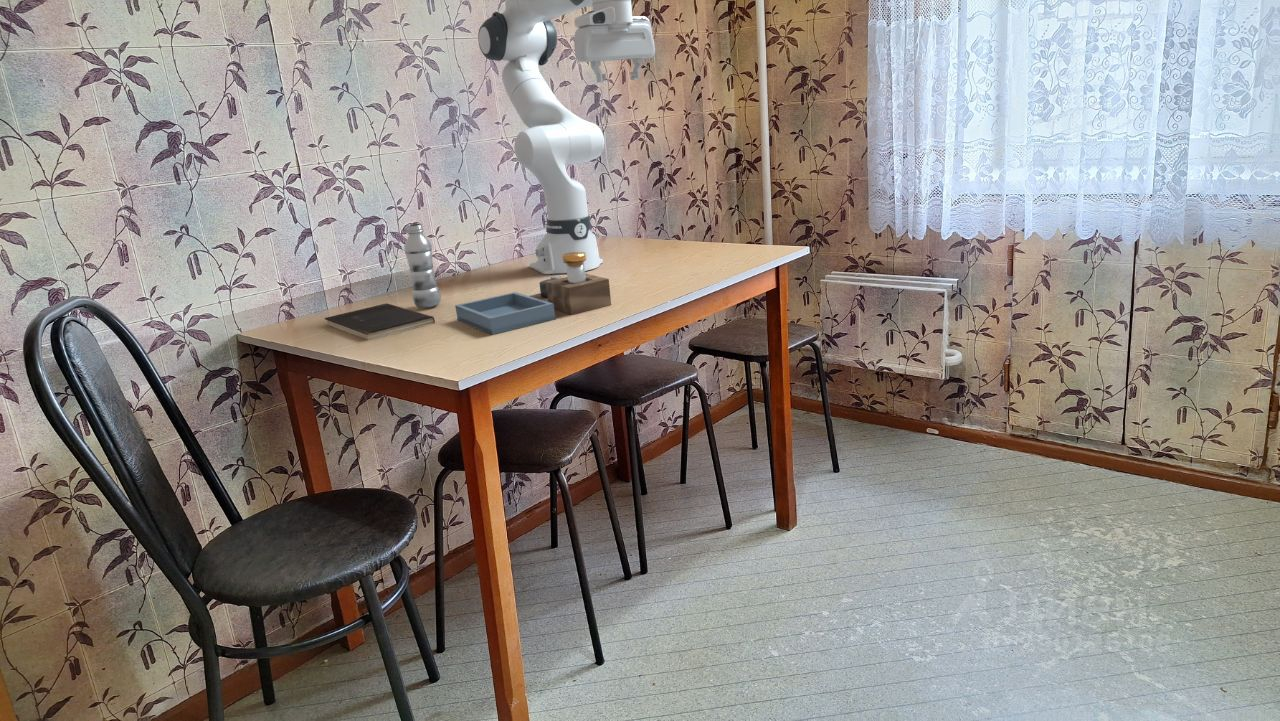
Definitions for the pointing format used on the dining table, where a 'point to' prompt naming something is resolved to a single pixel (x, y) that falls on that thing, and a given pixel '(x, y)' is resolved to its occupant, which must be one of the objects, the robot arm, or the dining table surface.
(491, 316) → the tray
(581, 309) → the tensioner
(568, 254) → the pin
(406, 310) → the hardcover book
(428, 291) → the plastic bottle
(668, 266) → the dining table surface
